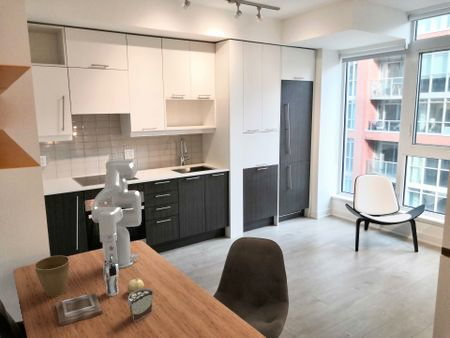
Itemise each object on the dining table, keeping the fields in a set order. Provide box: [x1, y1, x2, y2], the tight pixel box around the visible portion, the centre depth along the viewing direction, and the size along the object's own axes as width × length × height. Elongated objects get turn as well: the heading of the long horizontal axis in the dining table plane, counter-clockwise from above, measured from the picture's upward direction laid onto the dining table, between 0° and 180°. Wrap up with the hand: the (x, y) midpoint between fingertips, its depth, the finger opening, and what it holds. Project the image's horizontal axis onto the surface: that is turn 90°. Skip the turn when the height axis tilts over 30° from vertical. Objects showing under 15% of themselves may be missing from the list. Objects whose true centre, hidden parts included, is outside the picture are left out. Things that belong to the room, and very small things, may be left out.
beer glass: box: [102, 261, 120, 297], centre depth 164 cm, size 7×7×15 cm
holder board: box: [55, 292, 103, 327], centre depth 151 cm, size 17×17×3 cm
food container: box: [127, 288, 155, 323], centre depth 147 cm, size 12×6×10 cm, turn 141°
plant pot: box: [33, 255, 70, 298], centre depth 164 cm, size 15×15×16 cm
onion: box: [126, 276, 145, 294], centre depth 165 cm, size 8×8×7 cm
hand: (110, 271), depth 163 cm, fingers open, 9 cm apart
